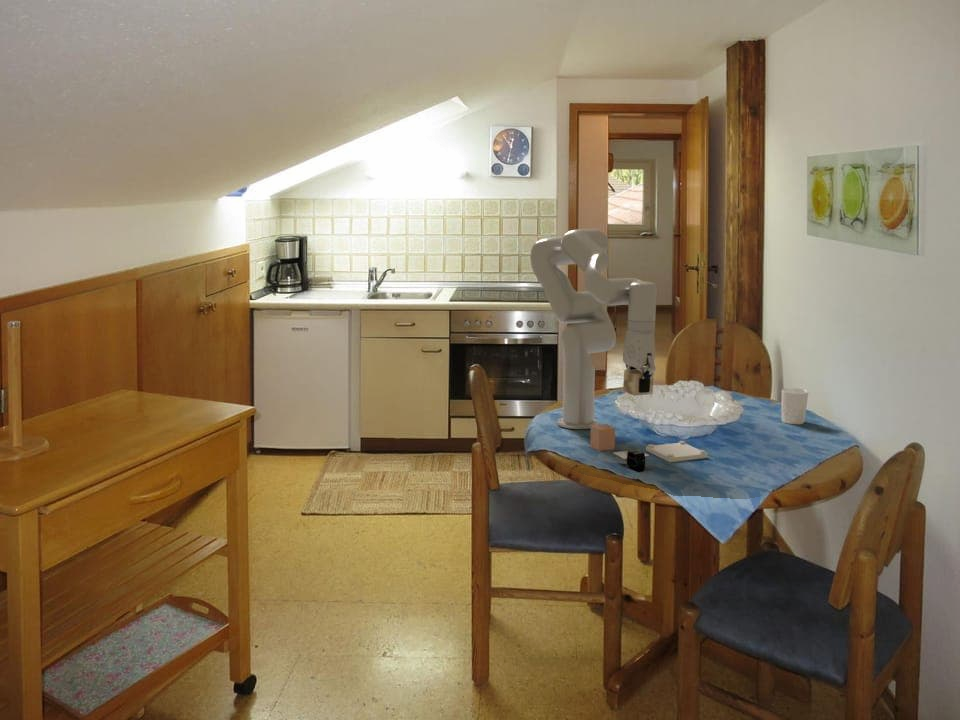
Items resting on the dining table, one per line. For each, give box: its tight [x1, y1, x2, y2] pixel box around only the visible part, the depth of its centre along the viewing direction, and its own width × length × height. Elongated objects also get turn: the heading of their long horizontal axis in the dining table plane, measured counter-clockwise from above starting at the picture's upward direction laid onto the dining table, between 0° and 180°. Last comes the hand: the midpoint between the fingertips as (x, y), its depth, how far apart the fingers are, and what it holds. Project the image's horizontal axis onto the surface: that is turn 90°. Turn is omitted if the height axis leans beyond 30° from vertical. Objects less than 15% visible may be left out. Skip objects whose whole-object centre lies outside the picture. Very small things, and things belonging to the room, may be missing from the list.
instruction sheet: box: [612, 449, 650, 460], centre depth 262 cm, size 6×8×1 cm
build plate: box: [645, 440, 708, 463], centre depth 262 cm, size 12×12×2 cm
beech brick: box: [622, 369, 655, 397], centre depth 267 cm, size 6×6×6 cm
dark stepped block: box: [616, 448, 656, 473], centre depth 251 cm, size 12×7×5 cm, turn 28°
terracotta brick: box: [589, 424, 616, 452], centre depth 268 cm, size 5×5×6 cm
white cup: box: [780, 387, 809, 425], centre depth 297 cm, size 8×8×10 cm
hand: (637, 388), depth 268 cm, fingers closed on beech brick, 6 cm apart
